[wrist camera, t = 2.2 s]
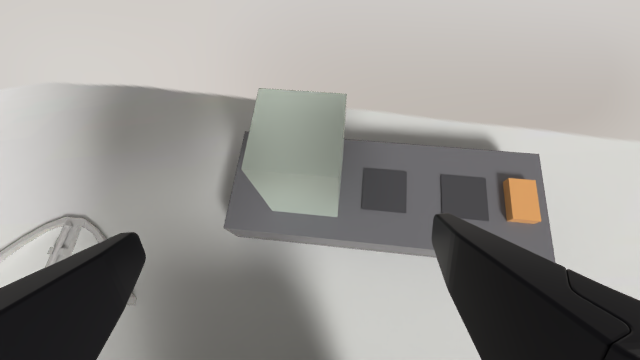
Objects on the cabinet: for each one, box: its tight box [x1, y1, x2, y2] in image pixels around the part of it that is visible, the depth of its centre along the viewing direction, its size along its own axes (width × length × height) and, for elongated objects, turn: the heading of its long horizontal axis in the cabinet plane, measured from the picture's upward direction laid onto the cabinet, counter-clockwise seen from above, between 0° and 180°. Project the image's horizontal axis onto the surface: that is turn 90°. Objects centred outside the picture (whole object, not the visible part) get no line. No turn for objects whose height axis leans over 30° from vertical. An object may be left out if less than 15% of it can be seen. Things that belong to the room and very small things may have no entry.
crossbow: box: [0, 217, 136, 305], centre depth 20 cm, size 16×13×2 cm
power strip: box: [224, 131, 555, 262], centre depth 21 cm, size 20×7×4 cm, turn 84°
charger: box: [241, 88, 347, 217], centre depth 18 cm, size 4×4×10 cm
